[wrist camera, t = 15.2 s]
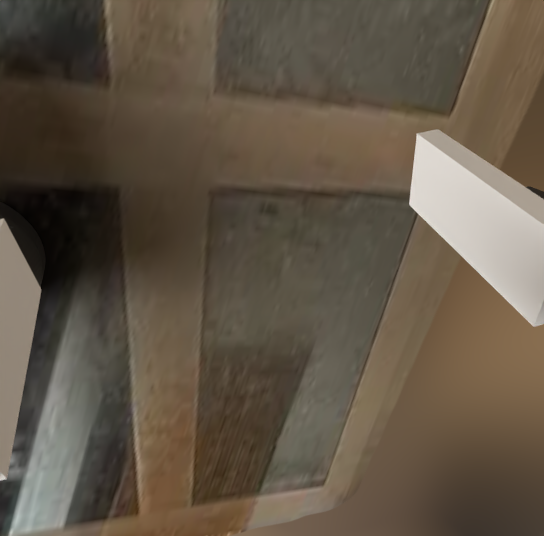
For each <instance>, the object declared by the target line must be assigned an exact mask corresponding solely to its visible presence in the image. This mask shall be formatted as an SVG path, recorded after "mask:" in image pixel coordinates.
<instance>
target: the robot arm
mask: <svg viewBox="0 0 544 536" xmlns="http://www.w3.org/2000/svg"><path fill="white" fill-rule="evenodd" d="M409 205H410V206H411V207H412V208H413V209H414V210H415V211H416V212H417V213H418V214H419V215H420V216H421V217H422V218H423V219H424V220H425V221H426V222H427V223H428V224H429V225H430V226H431V227H432V228H433V229H434V230H435V231H436V232H437V233H438V234H439V235H440V236H442V237H443V238H444V239H445V240H446V241H447V242H448V243H449V244H450V245H451V246H452V247H453V248H454V249H455V250H456V251H457V252H458V253H459V254H460V255H461V256H462V257H463V258H464V259H465V260H466V261H467V262H468V263H469V264H470V265H471V266H472V267H473V268H474V269H475V270H477V272H479V274H480V275H481V276H482V277H483V278H484V279H485V280H486V281H488V282H489V283H490V284H491V285H492V286H493V287H494V288H495V289H496V290H497V291H498V292H499V293H500V294H501V295H502V296H503V297H504V298H505V299H506V300H507V301H508V302H509V303H510V304H511V305H512V306H513V307H514V308H515V309H516V310H517V311H518V312H519V313H520V314H521V315H522V316H523V317H524V318H526V320H527V321H528V322H529V323H530V324H532V326H533V327H535V326H539V325H542V324H544V192H543V191H540V190H538V189H535V188H532V187H524V186H523V185H521V184H520V183H518V182H517V181H515V180H514V179H512V178H511V177H509V176H508V175H506V174H504V173H503V172H502V171H500V170H499V169H497V168H496V167H494V166H493V165H491V164H490V163H488V162H487V161H485V160H484V159H482V158H480V157H479V156H477V155H476V154H474V153H473V152H471V151H470V150H468V149H467V148H465V147H464V146H462V145H461V144H459V143H458V142H456V141H455V140H453V139H452V138H450V137H449V136H447V135H446V134H444V133H443V132H441V131H440V130H438V129H437V130H432V131H427V132H422V133H417V138H416V147H415V156H414V165H413V174H412V183H411V192H410V202H409ZM45 263H46V257H45V250H44V247H43V244H42V241H41V239H40V237H39V235H38V234H37V232H36V230H35V229H34V228H33V227H32V225H31V224H30V223H29V222H28V221H27V220H26V219H25V218H24V217H23V216H22V215H21V214H19V213H18V212H17V211H15V210H14V209H12V208H11V207H9V206H8V205H6V204H4V203H2V202H0V481H1V480H4V479H7V474H8V469H9V464H10V458H11V453H12V447H13V442H14V436H15V431H16V426H17V420H18V415H19V409H20V404H21V398H22V393H23V388H24V382H25V377H26V371H27V366H28V360H29V355H30V350H31V344H32V339H33V333H34V328H35V322H36V317H37V311H38V306H39V301H40V295H41V288H40V286H41V283H42V280H43V275H44V270H45Z"/></svg>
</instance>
